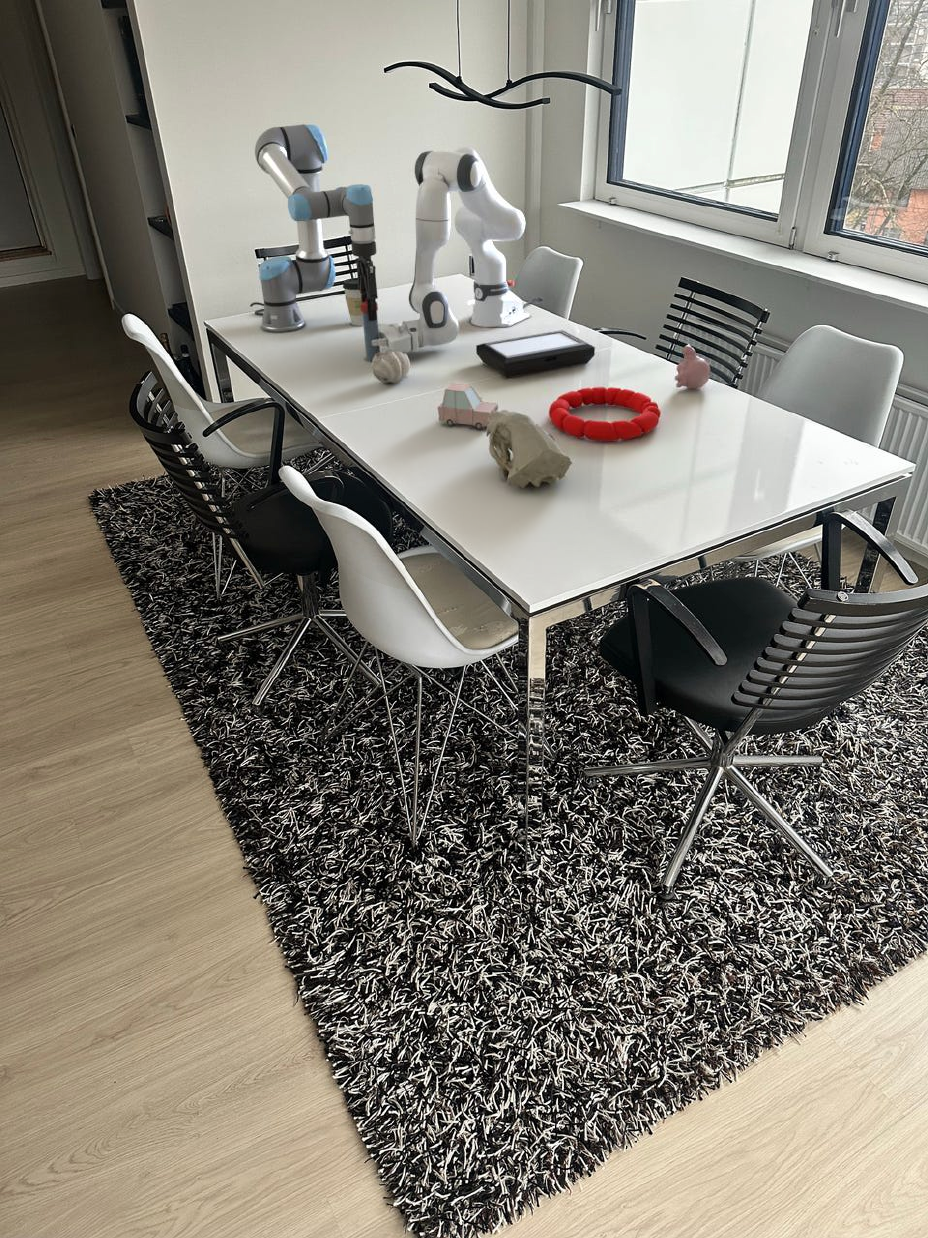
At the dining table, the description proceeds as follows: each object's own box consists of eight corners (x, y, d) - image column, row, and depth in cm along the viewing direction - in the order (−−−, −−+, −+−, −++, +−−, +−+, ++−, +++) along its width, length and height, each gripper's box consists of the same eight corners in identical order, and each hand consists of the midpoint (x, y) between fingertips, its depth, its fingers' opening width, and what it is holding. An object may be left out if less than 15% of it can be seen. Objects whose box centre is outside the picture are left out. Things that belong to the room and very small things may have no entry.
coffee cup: (372, 326, 323) (368, 283, 314) (345, 327, 323) (340, 284, 315) (374, 318, 331) (371, 276, 322) (348, 319, 331) (344, 277, 323)
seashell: (364, 381, 275) (361, 349, 270) (407, 372, 281) (405, 341, 275) (377, 391, 268) (374, 358, 262) (421, 382, 273) (420, 349, 268)
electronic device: (503, 360, 269) (476, 342, 284) (503, 380, 272) (476, 362, 287) (595, 344, 279) (563, 327, 294) (594, 364, 283) (563, 346, 298)
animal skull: (496, 517, 219) (521, 479, 201) (463, 429, 225) (484, 384, 207) (557, 503, 225) (586, 465, 206) (523, 417, 231) (549, 373, 212)
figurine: (665, 387, 264) (669, 347, 257) (693, 380, 268) (698, 340, 261) (686, 396, 257) (690, 355, 250) (714, 388, 262) (720, 348, 255)
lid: (380, 308, 286) (379, 300, 285) (375, 312, 282) (374, 305, 281) (363, 307, 287) (363, 300, 286) (358, 312, 283) (357, 305, 282)
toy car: (488, 432, 240) (488, 396, 234) (436, 426, 244) (434, 390, 239) (499, 419, 247) (499, 384, 241) (448, 413, 252) (447, 379, 246)
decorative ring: (589, 435, 224) (684, 402, 234) (527, 398, 247) (617, 369, 256) (589, 461, 229) (683, 427, 238) (529, 422, 251) (617, 393, 260)
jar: (377, 361, 291) (372, 307, 281) (364, 360, 292) (359, 306, 283) (383, 357, 295) (378, 303, 285) (369, 355, 296) (365, 302, 286)
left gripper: (343, 236, 279) (350, 311, 292) (360, 248, 265) (367, 326, 278) (366, 233, 281) (372, 308, 294) (384, 245, 267) (390, 323, 280)
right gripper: (401, 316, 300) (361, 321, 296) (418, 333, 284) (376, 338, 280) (402, 335, 303) (362, 340, 300) (419, 353, 287) (377, 358, 284)
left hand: (370, 317), depth 286 cm, fingers open, 6 cm apart
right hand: (369, 339), depth 290 cm, fingers closed on jar, 5 cm apart
